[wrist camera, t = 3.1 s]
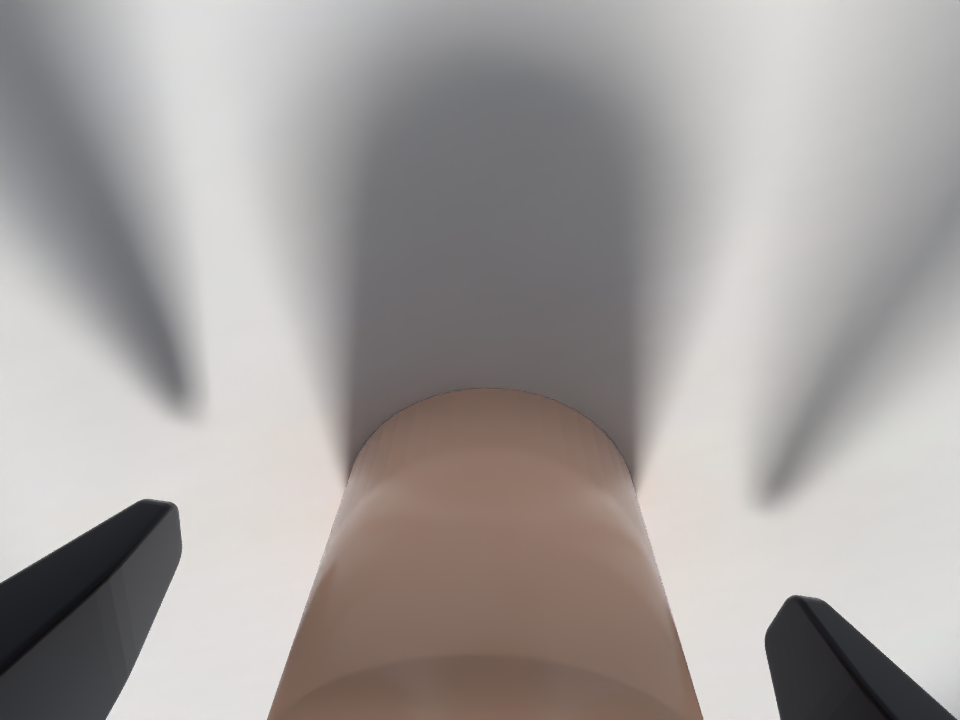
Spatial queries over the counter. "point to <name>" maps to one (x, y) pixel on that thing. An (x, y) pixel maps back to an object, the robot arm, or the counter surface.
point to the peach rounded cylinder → (487, 577)
